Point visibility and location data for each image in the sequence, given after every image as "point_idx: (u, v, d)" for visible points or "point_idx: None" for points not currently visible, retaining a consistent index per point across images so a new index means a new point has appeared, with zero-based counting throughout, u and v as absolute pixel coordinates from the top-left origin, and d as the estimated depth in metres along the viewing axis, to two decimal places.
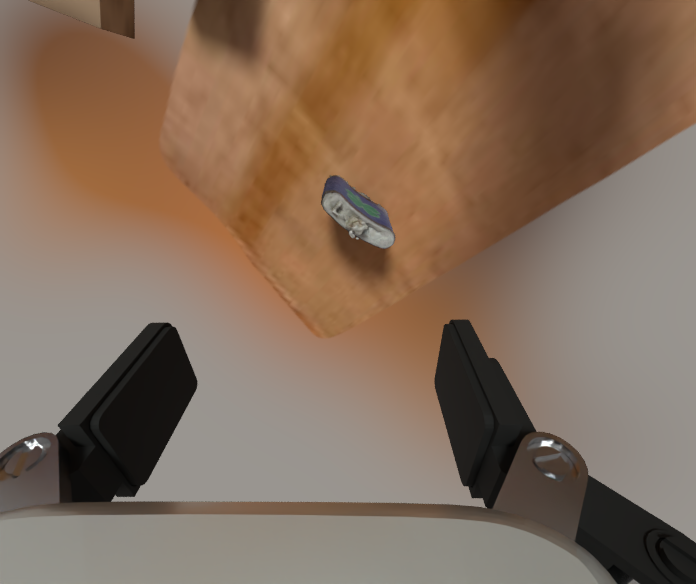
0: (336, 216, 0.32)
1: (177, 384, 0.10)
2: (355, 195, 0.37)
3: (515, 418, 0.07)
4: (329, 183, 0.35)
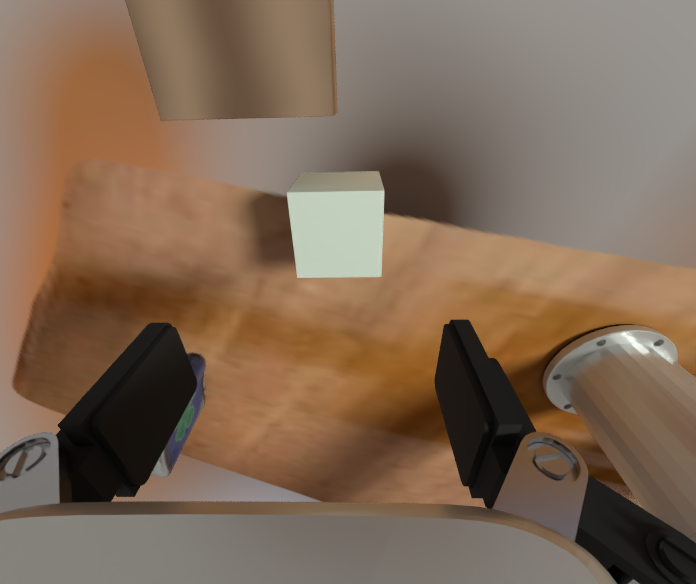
0: None
1: (177, 384, 0.10)
2: None
3: (515, 418, 0.07)
4: None
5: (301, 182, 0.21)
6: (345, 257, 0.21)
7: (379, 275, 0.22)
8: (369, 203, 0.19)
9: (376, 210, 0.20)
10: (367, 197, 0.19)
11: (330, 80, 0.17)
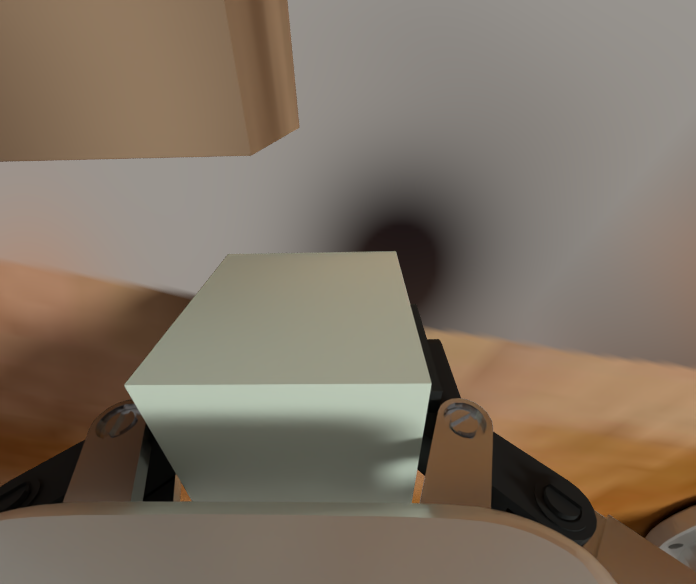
0: None
1: None
2: None
3: (437, 386, 0.08)
4: None
5: (204, 307, 0.08)
6: (318, 498, 0.08)
7: None
8: (381, 409, 0.06)
9: (404, 422, 0.07)
10: (378, 397, 0.06)
11: (222, 9, 0.04)
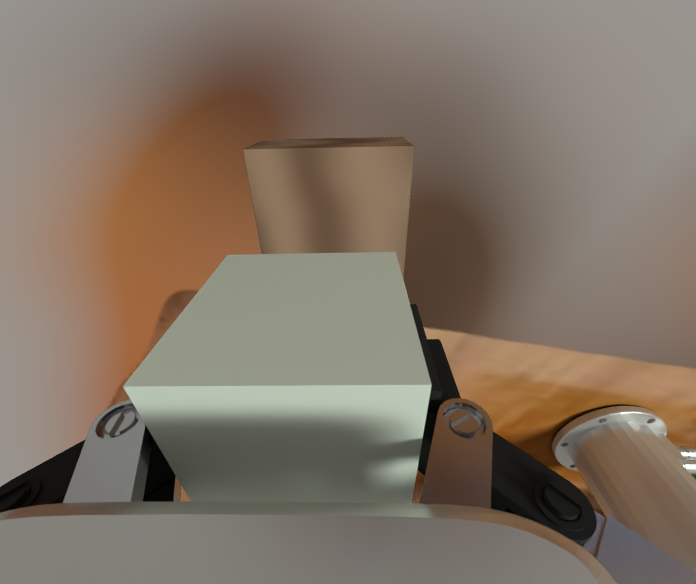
0: None
1: None
2: None
3: (437, 386, 0.08)
4: None
5: (204, 307, 0.08)
6: (318, 500, 0.08)
7: None
8: (381, 410, 0.06)
9: (404, 424, 0.07)
10: (378, 398, 0.06)
11: (402, 272, 0.22)
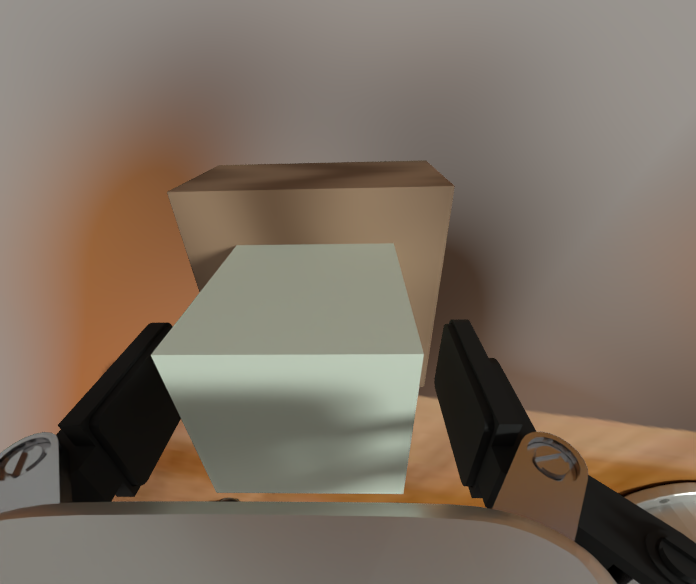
0: None
1: None
2: None
3: (515, 418, 0.07)
4: None
5: (218, 290, 0.09)
6: (321, 467, 0.09)
7: (399, 492, 0.10)
8: (379, 378, 0.07)
9: (400, 391, 0.07)
10: (376, 367, 0.07)
11: (426, 362, 0.15)
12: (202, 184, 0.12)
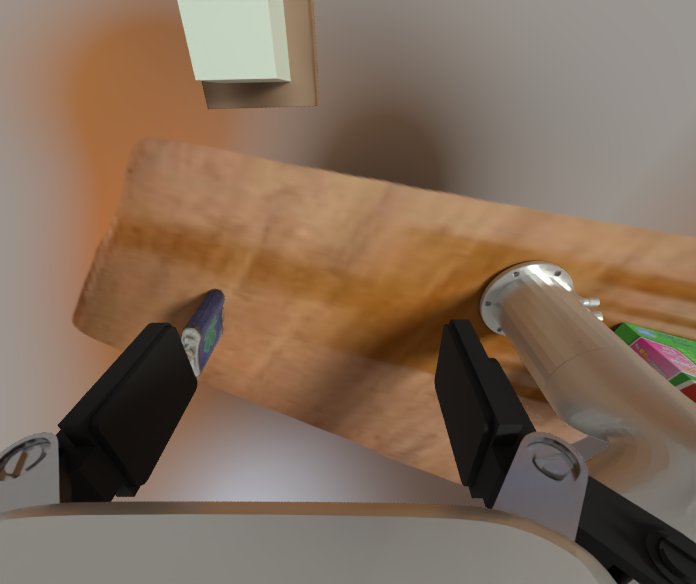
0: (184, 339, 0.39)
1: (177, 384, 0.10)
2: (215, 320, 0.45)
3: (515, 418, 0.07)
4: (209, 308, 0.42)
5: None
6: (238, 53, 0.22)
7: (274, 76, 0.23)
8: None
9: None
10: None
11: (312, 84, 0.28)
12: None
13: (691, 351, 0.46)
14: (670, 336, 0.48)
